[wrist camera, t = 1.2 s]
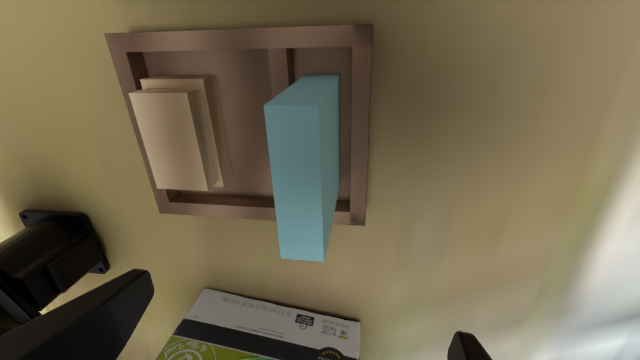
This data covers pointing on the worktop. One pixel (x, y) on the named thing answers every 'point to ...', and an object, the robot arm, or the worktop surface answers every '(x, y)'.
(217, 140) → the offcut lower
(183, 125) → the offcut upper
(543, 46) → the worktop surface
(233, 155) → the tray
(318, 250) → the teal flat block
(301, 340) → the tea box
